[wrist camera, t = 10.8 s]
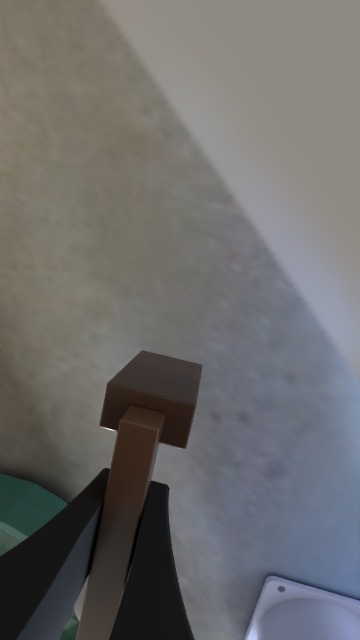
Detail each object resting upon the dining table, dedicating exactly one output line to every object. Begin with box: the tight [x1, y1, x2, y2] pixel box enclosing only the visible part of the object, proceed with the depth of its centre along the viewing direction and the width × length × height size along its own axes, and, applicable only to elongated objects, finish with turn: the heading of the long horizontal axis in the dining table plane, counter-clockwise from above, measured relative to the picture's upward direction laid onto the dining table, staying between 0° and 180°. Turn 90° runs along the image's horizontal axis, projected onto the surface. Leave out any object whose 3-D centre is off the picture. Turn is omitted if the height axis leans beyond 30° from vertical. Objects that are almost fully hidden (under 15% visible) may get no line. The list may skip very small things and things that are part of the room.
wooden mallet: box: [74, 350, 202, 640], centre depth 13 cm, size 15×4×6 cm, turn 168°
